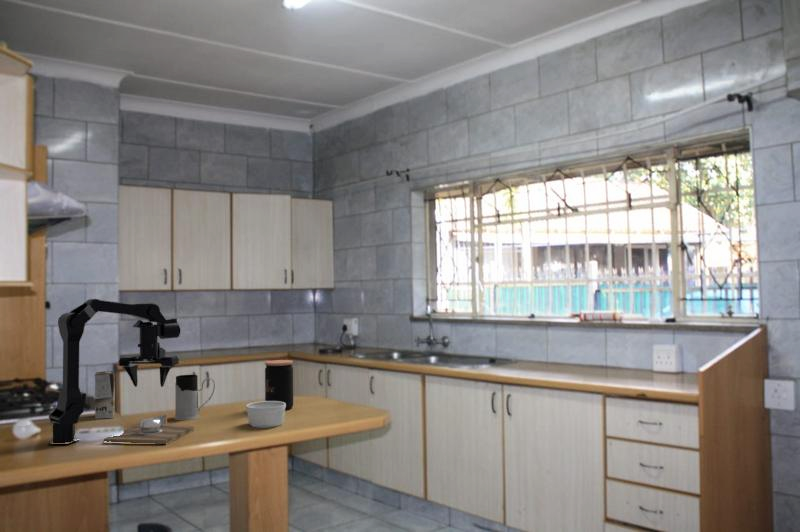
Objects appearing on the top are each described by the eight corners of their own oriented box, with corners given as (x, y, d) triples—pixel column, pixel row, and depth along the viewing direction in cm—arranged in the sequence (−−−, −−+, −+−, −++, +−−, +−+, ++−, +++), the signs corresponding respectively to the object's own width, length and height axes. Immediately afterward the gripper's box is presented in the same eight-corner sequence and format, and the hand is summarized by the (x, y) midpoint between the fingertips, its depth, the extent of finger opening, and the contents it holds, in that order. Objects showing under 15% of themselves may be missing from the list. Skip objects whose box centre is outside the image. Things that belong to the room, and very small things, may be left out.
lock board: (165, 445, 207) (165, 439, 207) (103, 443, 209) (103, 438, 209) (194, 430, 226) (194, 425, 226) (136, 429, 229) (136, 424, 229)
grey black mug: (173, 416, 250) (172, 375, 250) (213, 413, 255) (212, 372, 256) (175, 421, 242) (175, 378, 242) (216, 417, 247) (216, 375, 247)
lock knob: (155, 432, 214) (154, 422, 215) (136, 432, 215) (136, 421, 215) (173, 424, 227) (173, 414, 227) (155, 424, 228) (155, 414, 228)
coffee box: (114, 418, 249) (113, 373, 249) (94, 419, 246) (94, 374, 247) (114, 413, 257) (114, 370, 257) (96, 414, 255) (96, 371, 255)
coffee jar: (263, 407, 267) (263, 360, 267) (291, 405, 270) (290, 359, 270) (266, 412, 256) (266, 363, 257) (295, 410, 260) (295, 362, 260)
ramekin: (255, 430, 226) (254, 409, 226) (240, 423, 237) (240, 403, 237) (292, 425, 233) (292, 404, 233) (276, 419, 244) (276, 399, 244)
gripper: (185, 337, 239) (185, 382, 238) (133, 338, 240) (134, 382, 240) (171, 340, 228) (171, 388, 227) (117, 341, 229) (117, 388, 229)
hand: (149, 386), depth 231 cm, fingers open, 9 cm apart
